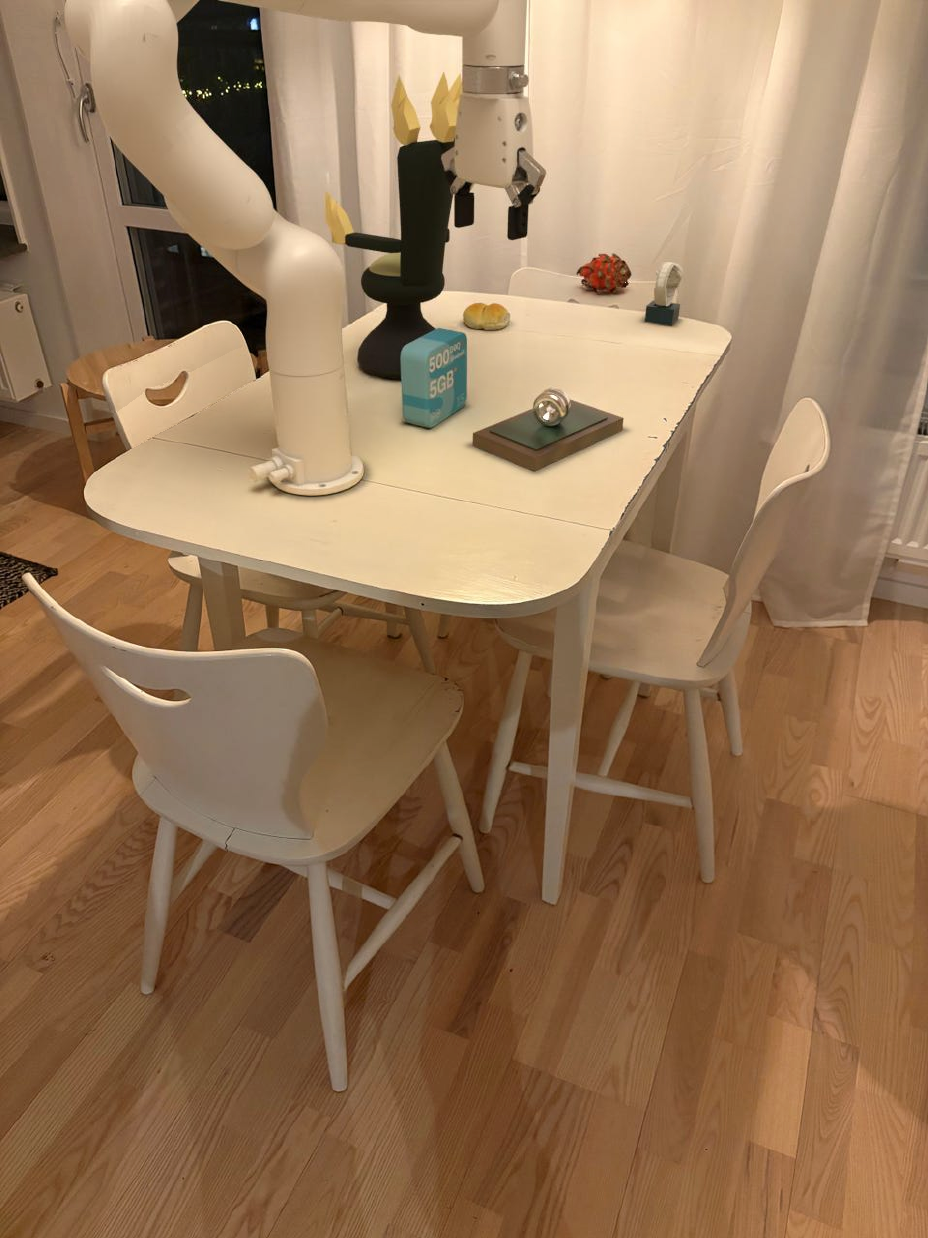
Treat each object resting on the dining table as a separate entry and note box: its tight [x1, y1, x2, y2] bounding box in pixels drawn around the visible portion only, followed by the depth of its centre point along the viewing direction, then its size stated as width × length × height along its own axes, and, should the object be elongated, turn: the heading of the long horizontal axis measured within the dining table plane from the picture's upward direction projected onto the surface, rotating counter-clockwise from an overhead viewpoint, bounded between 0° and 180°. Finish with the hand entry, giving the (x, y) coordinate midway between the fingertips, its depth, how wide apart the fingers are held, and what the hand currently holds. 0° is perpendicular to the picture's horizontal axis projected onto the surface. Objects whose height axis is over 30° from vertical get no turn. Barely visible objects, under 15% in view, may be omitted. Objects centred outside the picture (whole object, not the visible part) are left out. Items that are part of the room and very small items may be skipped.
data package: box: [400, 327, 468, 429], centre depth 139 cm, size 12×4×12 cm, turn 150°
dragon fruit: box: [576, 252, 633, 295], centre depth 197 cm, size 8×8×12 cm
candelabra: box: [324, 71, 463, 380], centre depth 147 cm, size 19×22×45 cm
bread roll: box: [462, 302, 511, 331], centre depth 179 cm, size 8×9×4 cm
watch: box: [644, 261, 685, 327], centre depth 179 cm, size 6×8×11 cm
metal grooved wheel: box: [532, 387, 571, 427], centre depth 133 cm, size 5×3×5 cm, turn 65°
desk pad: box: [472, 398, 624, 472], centre depth 135 cm, size 20×12×2 cm, turn 135°
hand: (490, 231), depth 121 cm, fingers open, 9 cm apart
